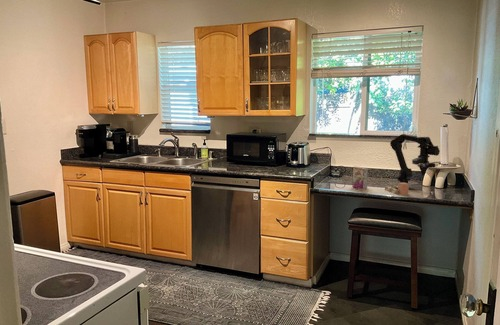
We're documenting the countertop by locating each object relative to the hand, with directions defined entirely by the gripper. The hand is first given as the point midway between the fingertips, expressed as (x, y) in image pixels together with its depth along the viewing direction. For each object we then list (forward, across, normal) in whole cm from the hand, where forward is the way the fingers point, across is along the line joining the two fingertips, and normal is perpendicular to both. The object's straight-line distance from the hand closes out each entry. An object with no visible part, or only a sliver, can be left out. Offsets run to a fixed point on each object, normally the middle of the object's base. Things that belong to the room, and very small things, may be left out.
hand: (422, 175), depth 295 cm
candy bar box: (+13, -25, -37) cm, 47 cm away
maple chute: (+13, -4, -19) cm, 23 cm away
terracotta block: (+12, +4, -19) cm, 23 cm away
